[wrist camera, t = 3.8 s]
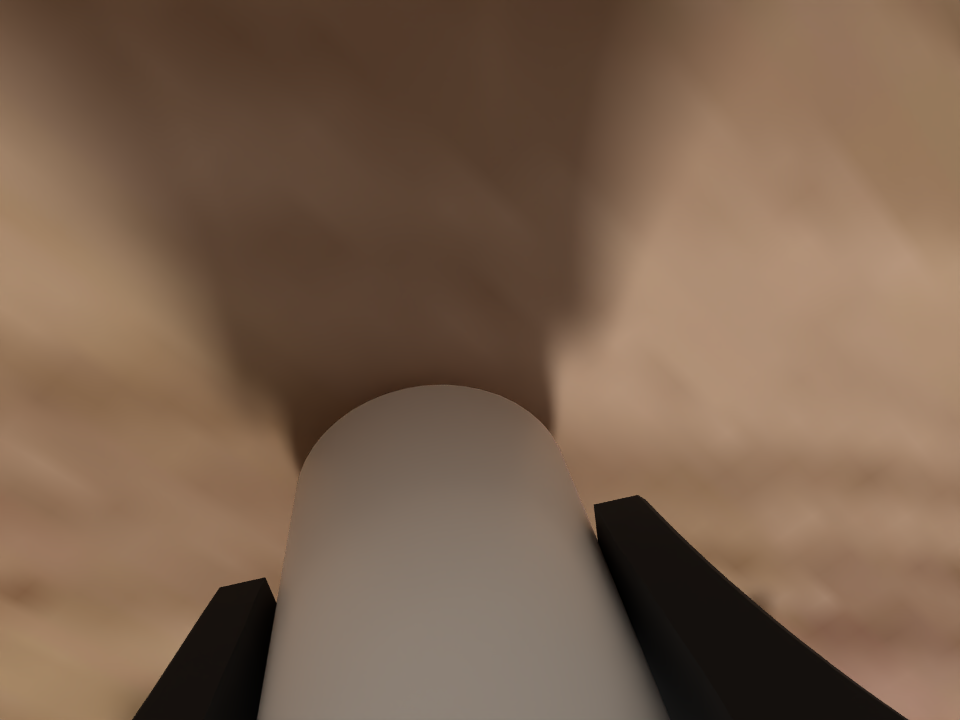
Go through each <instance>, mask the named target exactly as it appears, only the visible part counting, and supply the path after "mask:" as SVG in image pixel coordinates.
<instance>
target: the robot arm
mask: <svg viewBox="0 0 960 720" xmlns="http://www.w3.org/2000/svg"><path fill="white" fill-rule="evenodd" d="M594 511H595V520H596V529H597V537H598V543H599V546H600V548H601V551H602V553H603V556H604V558H605V561H606V563H607V565H608V568H609V570H610V573H611V575H612V578H613V580H614V583H615V585H616V588H617V590H618V592H619V595H620V597H621V600H622V602H623V605H624V607H625V610H626V612H627V615H628V617H629V619H630V622H631V624H632V627H633V629H634V632H635V634H636V637H637V639H638V641H639V644H640V646H641V649H642V651H643V654H644V656H645V659H646V661H647V664H648V666H649V668H650V671H651V673H652V676H653V678H654V681H655V683H656V686H657V688H658V691H659V693H660V695H661V698H662V700H663V703H664V705H665V708H666V710H667V713H668V715H669V718H670V720H908V719H907V718H905V717H904V716H902V715H901V714H899V713H898V712H896V711H895V710H894V709H892V708H891V707H889V706H888V705H886V704H885V703H883V702H882V701H881V700H879V699H878V698H876V697H875V696H874V695H872V694H871V693H870V692H868V691H867V690H865V689H864V688H863V687H861V686H860V685H858V684H857V683H856V682H854V681H853V680H852V679H850V678H849V677H848V676H846V675H845V674H844V673H842V672H841V671H840V670H838V669H837V668H836V667H834V666H833V665H832V664H830V663H829V662H828V661H827V660H825V659H824V658H823V657H821V656H820V655H819V654H818V653H816V652H815V651H814V650H812V649H811V648H810V647H809V646H807V645H806V644H805V643H803V642H802V641H801V640H800V639H798V638H797V637H796V636H795V635H793V634H792V633H791V632H790V631H788V630H787V629H786V628H785V627H784V626H782V625H781V624H780V623H779V622H777V621H776V620H775V619H774V618H773V617H771V616H770V615H769V614H768V613H767V612H765V611H764V610H763V609H762V608H761V607H760V606H758V605H757V604H756V603H755V602H754V601H753V600H751V599H750V598H749V597H748V596H747V595H746V594H744V593H743V592H742V591H741V590H740V589H739V588H738V587H736V586H735V585H734V584H733V583H732V582H731V581H729V580H728V579H727V578H726V577H725V576H724V575H723V574H722V573H720V572H719V571H718V570H717V569H716V568H715V567H714V566H713V565H712V564H710V563H709V562H708V561H707V560H706V559H705V558H704V557H703V556H702V555H701V554H700V553H699V552H698V551H697V550H696V549H694V548H693V547H692V546H691V545H690V544H689V543H688V542H687V541H686V540H685V539H684V538H683V537H682V536H681V535H680V534H679V533H678V532H677V531H676V530H675V529H674V528H673V527H672V526H671V525H670V524H669V523H668V522H667V521H666V520H665V519H664V518H663V517H662V516H661V515H660V514H659V513H658V512H657V511H656V510H655V509H654V508H653V507H652V506H651V505H650V504H649V503H648V502H647V501H646V500H645V499H643V498H642V497H640V496H639V495H636V496H631V497H627V498H622V499H617V500H613V501H608V502H604V503H599V504H595V505H594ZM276 604H277V603H276V601H275V599H274V596H273V594H272V592H271V589H270V587H269V585H268V583H267V580H266V578H261V579H256V580H251V581H247V582H242V583H238V584H233V585H229V586H224V587H220V588H219V589H218V591H217V592H216V594H215V595H214V597H213V598H212V600H211V601H210V603H209V604H208V606H207V607H206V609H205V610H204V612H203V613H202V615H201V616H200V618H199V619H198V621H197V622H196V624H195V625H194V627H193V628H192V630H191V631H190V633H189V635H188V636H187V638H186V639H185V641H184V642H183V644H182V645H181V647H180V648H179V650H178V652H177V653H176V655H175V656H174V658H173V659H172V661H171V662H170V664H169V665H168V667H167V668H166V670H165V671H164V673H163V674H162V676H161V678H160V679H159V681H158V682H157V684H156V685H155V687H154V688H153V690H152V691H151V693H150V694H149V696H148V697H147V699H146V700H145V702H144V703H143V705H142V706H141V707H140V709H139V710H138V712H137V713H136V715H135V716H134V718H133V719H132V720H257V715H258V710H259V704H260V698H261V692H262V686H263V680H264V674H265V669H266V663H267V657H268V651H269V645H270V639H271V633H272V628H273V622H274V616H275V610H276Z"/></svg>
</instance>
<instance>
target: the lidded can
mask: <svg viewBox="0 0 960 720" xmlns="http://www.w3.org/2000/svg"><path fill="white" fill-rule="evenodd" d="M257 720H670V718H669V715H668V713H667V710H666V708H665V705H664V703H663V700H662V698H661V695H660V693H659V691H658V688H657V686H656V683H655V681H654V678H653V676H652V673H651V671H650V668H649V666H648V664H647V661H646V659H645V656H644V654H643V651H642V649H641V646H640V644H639V641H638V639H637V637H636V634H635V632H634V629H633V627H632V624H631V622H630V619H629V617H628V615H627V612H626V610H625V607H624V605H623V602H622V600H621V597H620V595H619V592H618V590H617V588H616V585H615V583H614V580H613V578H612V575H611V573H610V570H609V568H608V565H607V563H606V561H605V558H604V556H603V553H602V551H601V548H600V546H599V543H598V541H597V538H596V536H595V534H594V531H593V529H592V526H591V524H590V521H589V519H588V516H587V514H586V512H585V509H584V507H583V504H582V502H581V499H580V497H579V494H578V492H577V489H576V487H575V485H574V482H573V480H572V477H571V475H570V472H569V470H568V467H567V465H566V462H565V460H564V458H563V455H562V453H561V450H560V448H559V446H558V444H557V443H556V441H555V439H554V438H553V436H552V434H551V433H550V432H549V431H548V430H547V428H546V427H545V426H544V425H543V424H542V423H541V422H540V421H539V420H538V419H537V418H536V417H535V416H534V415H532V414H531V413H530V412H529V411H527V410H526V409H524V408H523V407H521V406H520V405H518V404H517V403H515V402H513V401H511V400H508V399H506V398H504V397H502V396H500V395H497V394H494V393H491V392H488V391H485V390H481V389H476V388H471V387H466V386H456V385H425V386H418V387H412V388H405V389H402V390H398V391H394V392H391V393H387V394H385V395H382V396H380V397H377V398H375V399H372V400H370V401H368V402H366V403H364V404H362V405H360V406H358V407H357V408H355V409H353V410H351V411H350V412H349V413H347V414H346V415H344V416H343V417H342V418H340V419H339V420H338V421H336V422H335V423H334V424H333V425H332V426H331V427H330V428H329V429H328V430H327V431H326V432H325V433H324V434H323V435H322V436H321V438H320V439H319V440H318V441H317V443H316V444H315V445H314V446H313V448H312V450H311V451H310V453H309V455H308V456H307V458H306V460H305V462H304V465H303V467H302V470H301V472H300V475H299V479H298V483H297V488H296V493H295V499H294V505H293V510H292V516H291V522H290V528H289V534H288V540H287V546H286V551H285V557H284V563H283V569H282V575H281V581H280V587H279V592H278V598H277V604H276V610H275V616H274V622H273V628H272V633H271V639H270V645H269V651H268V657H267V663H266V669H265V674H264V680H263V686H262V692H261V698H260V704H259V710H258V715H257Z"/></svg>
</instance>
